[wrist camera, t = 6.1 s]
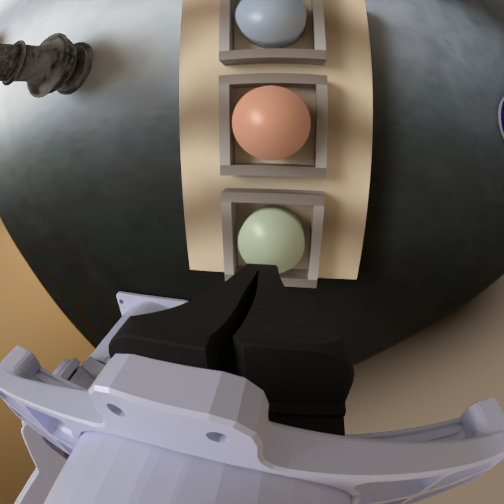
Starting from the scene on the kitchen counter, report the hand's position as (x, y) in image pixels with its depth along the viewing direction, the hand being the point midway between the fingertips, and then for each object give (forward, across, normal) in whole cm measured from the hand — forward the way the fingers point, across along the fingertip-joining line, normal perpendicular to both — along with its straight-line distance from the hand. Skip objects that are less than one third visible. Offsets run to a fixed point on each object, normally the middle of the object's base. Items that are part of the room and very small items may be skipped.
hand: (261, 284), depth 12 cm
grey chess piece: (+9, +18, -15) cm, 25 cm away
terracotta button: (+5, 0, -7) cm, 9 cm away
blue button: (+6, 0, -14) cm, 15 cm away
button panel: (+8, 0, -7) cm, 11 cm away
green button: (+6, 0, 0) cm, 6 cm away
